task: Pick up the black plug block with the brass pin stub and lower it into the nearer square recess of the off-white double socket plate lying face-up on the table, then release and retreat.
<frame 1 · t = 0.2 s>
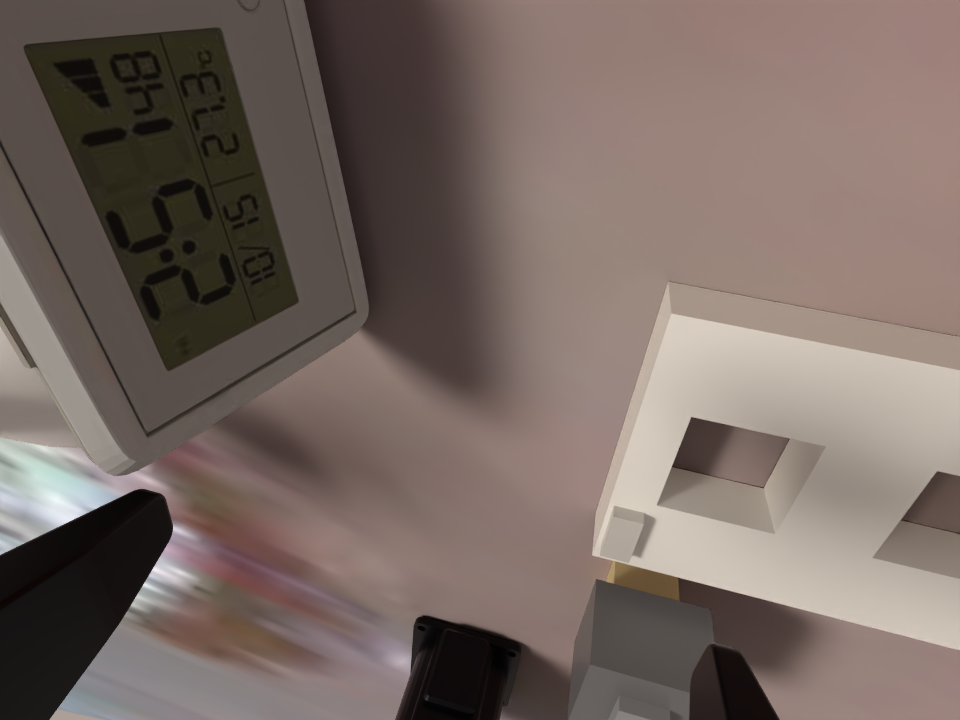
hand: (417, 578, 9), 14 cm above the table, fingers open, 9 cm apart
flower in vase: (56, 316, 29), on the table
digital clock: (276, 125, 21), on the table
socket: (831, 458, 23), on the table
plug: (638, 581, 29), on the table
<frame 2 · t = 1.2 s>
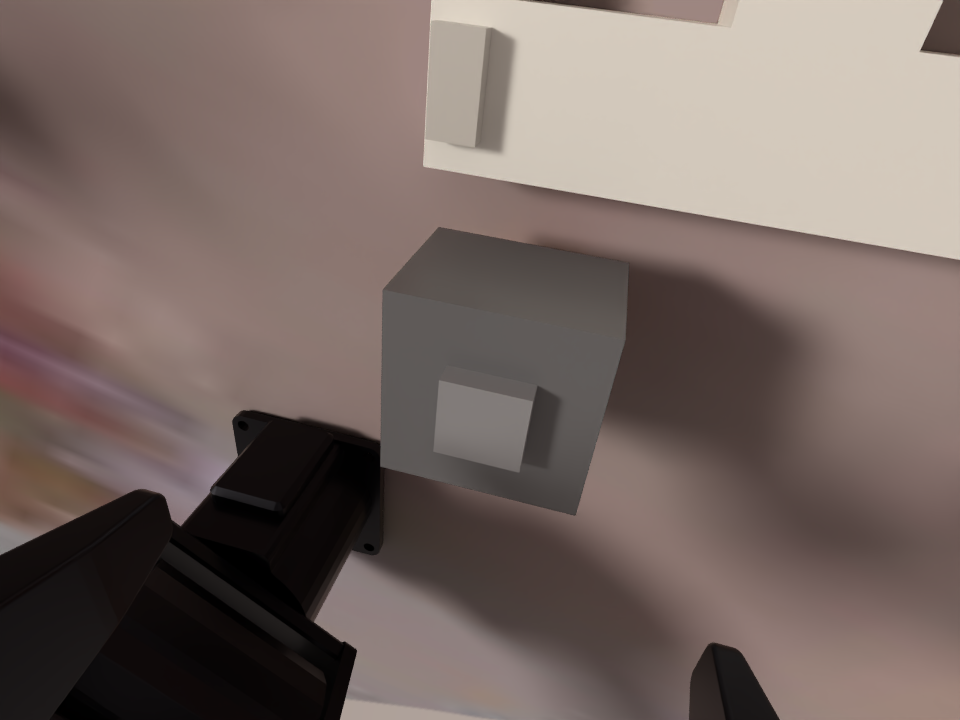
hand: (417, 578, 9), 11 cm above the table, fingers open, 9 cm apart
plug: (531, 291, 18), on the table
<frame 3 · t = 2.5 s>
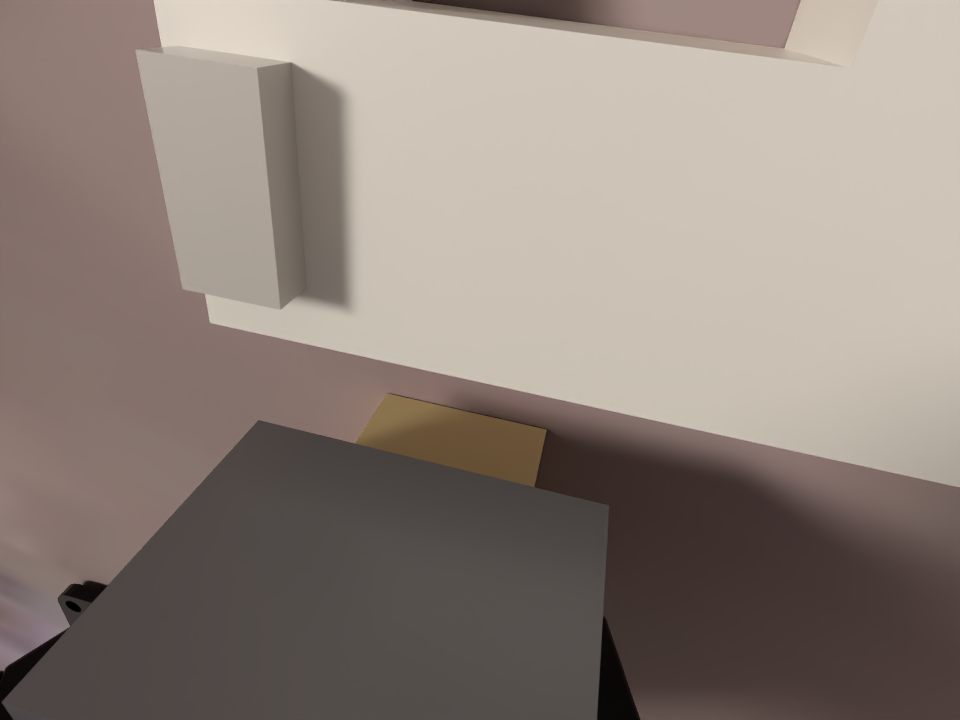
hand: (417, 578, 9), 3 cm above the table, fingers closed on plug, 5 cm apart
plug: (458, 471, 11), on the table, touching gripper
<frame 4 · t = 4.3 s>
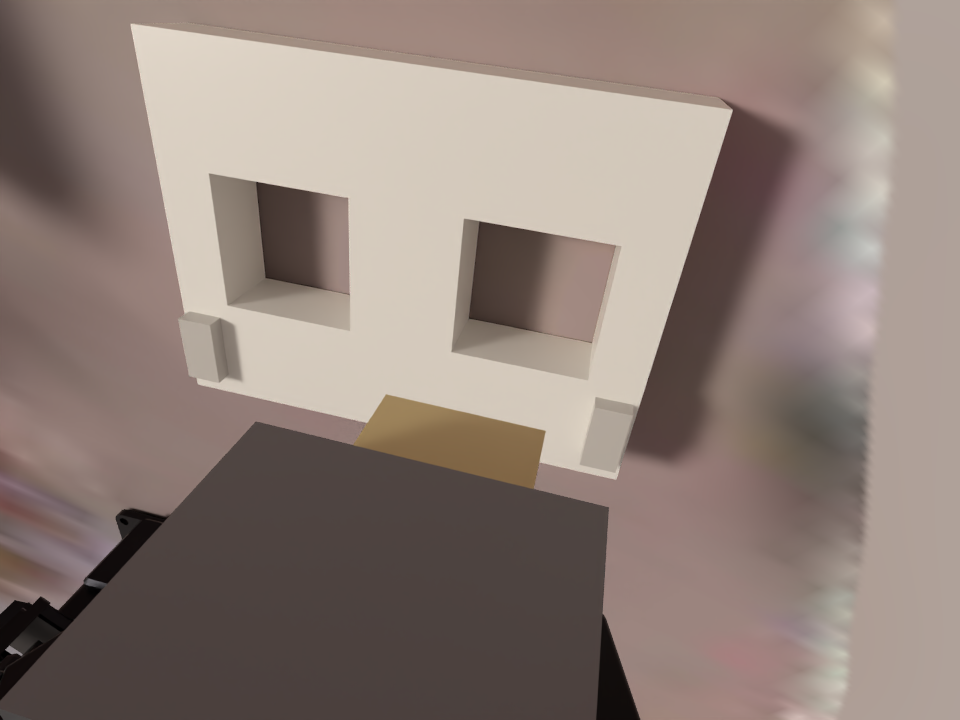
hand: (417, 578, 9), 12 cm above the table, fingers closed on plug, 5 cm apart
socket: (426, 251, 20), on the table
plug: (457, 472, 11), point 10 cm above the table, touching gripper
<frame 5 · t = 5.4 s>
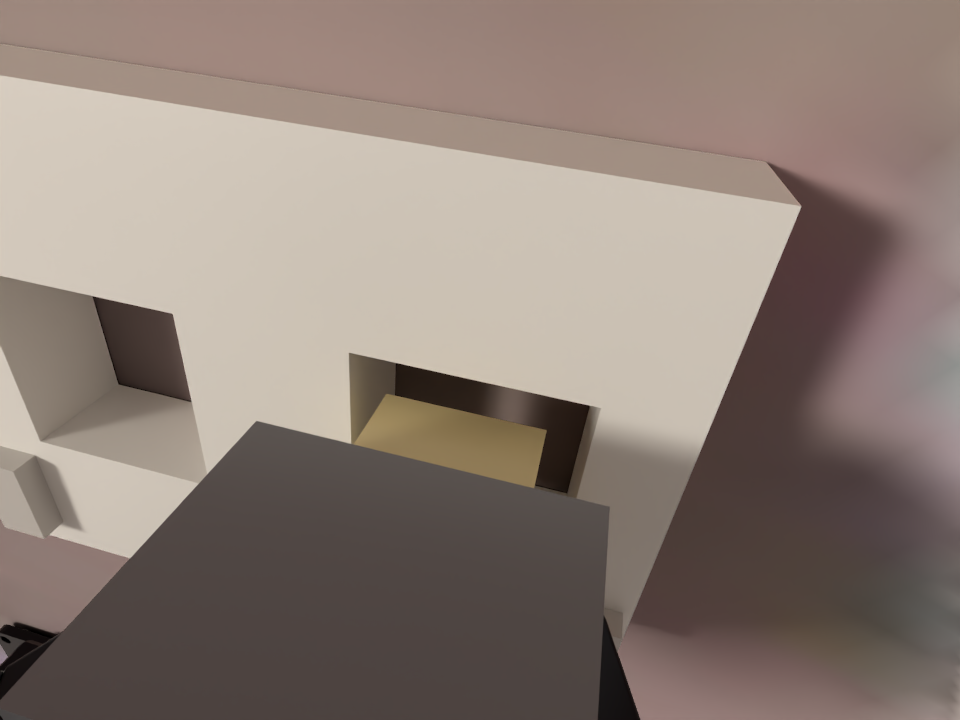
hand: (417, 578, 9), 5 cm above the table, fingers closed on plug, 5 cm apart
socket: (326, 364, 14), on the table
plug: (458, 471, 11), point 2 cm above the table, touching gripper
when the fingers open (3 cm above the table, at t = 6.0 s): plug stays where it is, resting on socket.
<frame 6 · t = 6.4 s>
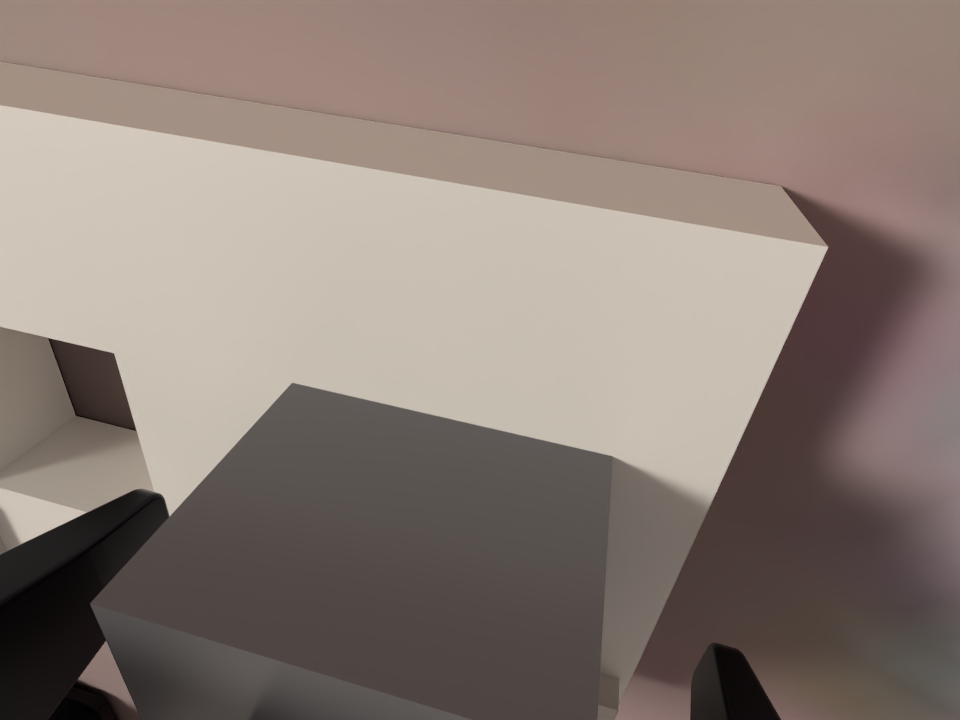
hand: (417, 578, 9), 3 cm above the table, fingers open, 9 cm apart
socket: (295, 398, 13), on the table
plug: (471, 439, 12), resting on socket
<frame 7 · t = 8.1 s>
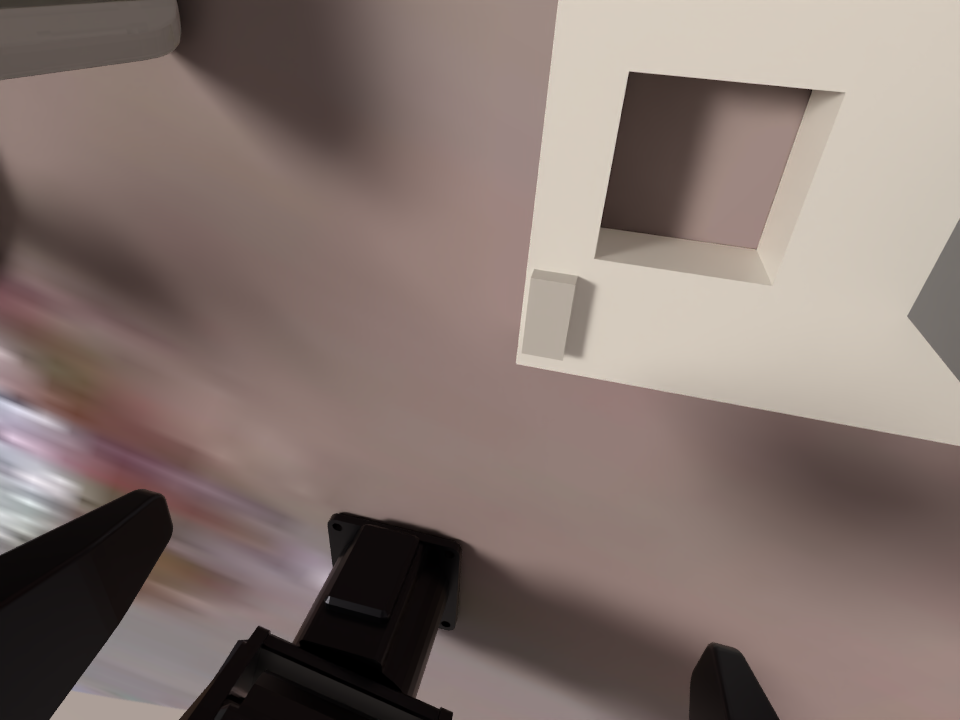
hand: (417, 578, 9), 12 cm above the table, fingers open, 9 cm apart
socket: (854, 179, 15), on the table
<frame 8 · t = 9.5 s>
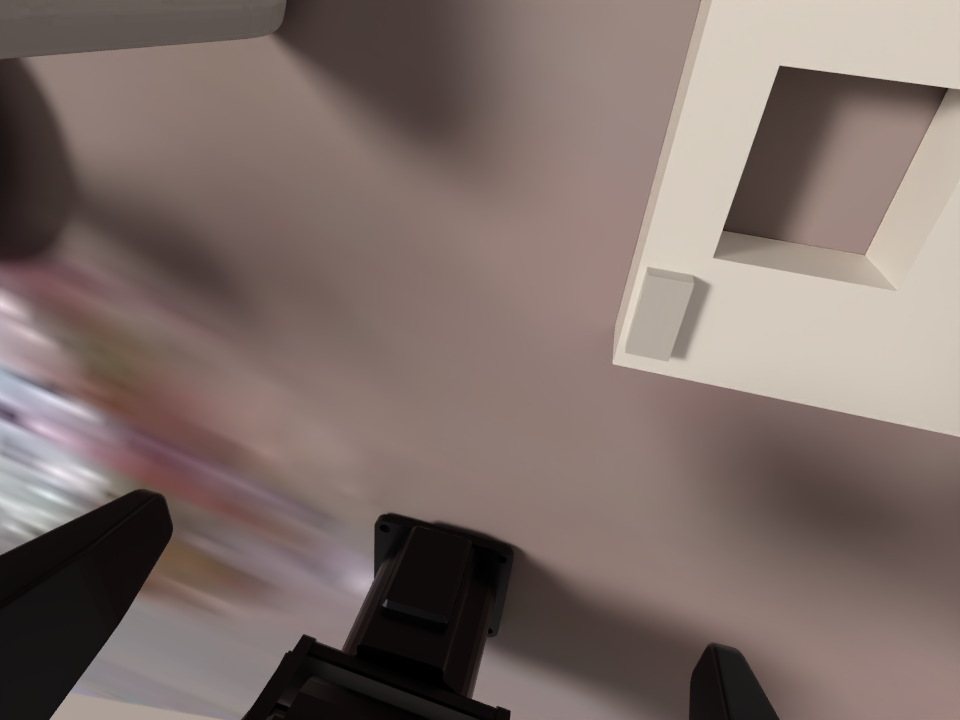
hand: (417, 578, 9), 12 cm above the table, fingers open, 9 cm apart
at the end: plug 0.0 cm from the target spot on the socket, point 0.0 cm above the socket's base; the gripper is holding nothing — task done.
